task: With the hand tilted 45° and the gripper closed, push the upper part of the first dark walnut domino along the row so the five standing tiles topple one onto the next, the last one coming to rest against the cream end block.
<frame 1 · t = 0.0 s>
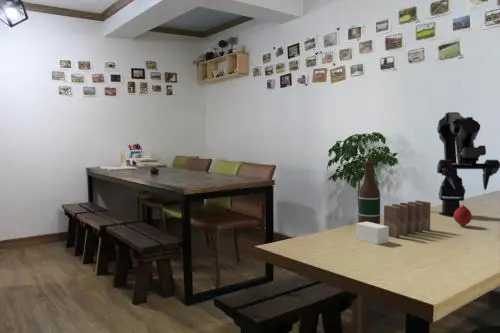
hand: (470, 189, 140), 15 cm above the table, tool tilted 35°, fingers open, 9 cm apart
beer bottle: (369, 227, 153), on the table
domino 2: (414, 231, 144), on the table
end block: (371, 240, 133), on the table
onion: (462, 226, 151), on the table
domino 3: (407, 232, 142), on the table
domino 5: (391, 236, 138), on the table
domino 1: (422, 229, 147), on the table
domino 4: (399, 234, 140), on the table
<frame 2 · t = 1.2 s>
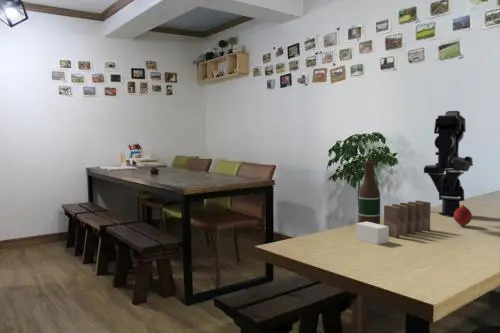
hand: (445, 191, 155), 12 cm above the table, tool pointing down, fingers open, 7 cm apart
nothing on the table moved.
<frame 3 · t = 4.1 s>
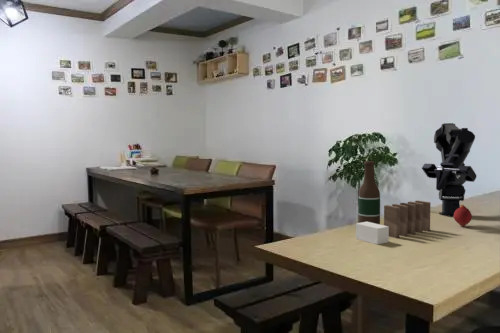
hand: (437, 189, 150), 13 cm above the table, tool tilted 45°, fingers closed
nothing on the table moved.
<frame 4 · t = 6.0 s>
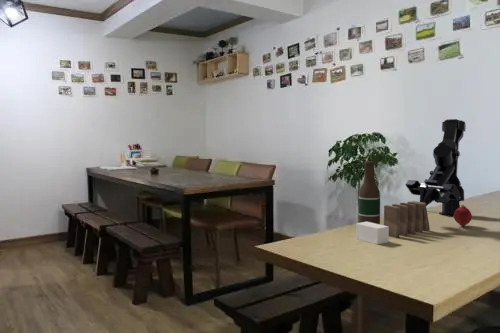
hand: (421, 207, 145), 8 cm above the table, tool tilted 45°, fingers closed, pressing on domino 1
domino 2: (414, 231, 144), on the table, touching domino 1
domino 1: (422, 229, 147), on the table, tilted 15°, touching domino 2, gripper
everything else where it was.
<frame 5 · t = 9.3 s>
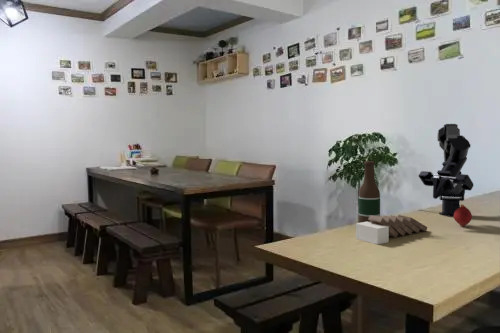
hand: (434, 198, 149), 11 cm above the table, tool tilted 45°, fingers closed
domino 2: (412, 229, 144), point 1 cm above the table, tilted 61°, touching domino 1, domino 3
domino 3: (405, 231, 142), point 1 cm above the table, tilted 57°, touching domino 2, domino 4
domino 5: (391, 234, 138), point 1 cm above the table, tilted 51°, touching domino 4, end block
domino 1: (420, 228, 146), point 1 cm above the table, tilted 63°, touching domino 2
domino 4: (398, 232, 140), point 1 cm above the table, tilted 55°, touching domino 3, domino 5
everything else where it was.
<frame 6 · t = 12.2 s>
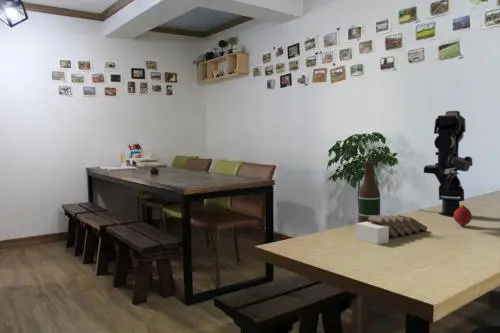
hand: (445, 191, 155), 12 cm above the table, tool pointing down, fingers closed
nothing on the table moved.
at the end: domino 5 tilted 51°; domino 3 tilted 57°; domino 1 tilted 63° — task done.
